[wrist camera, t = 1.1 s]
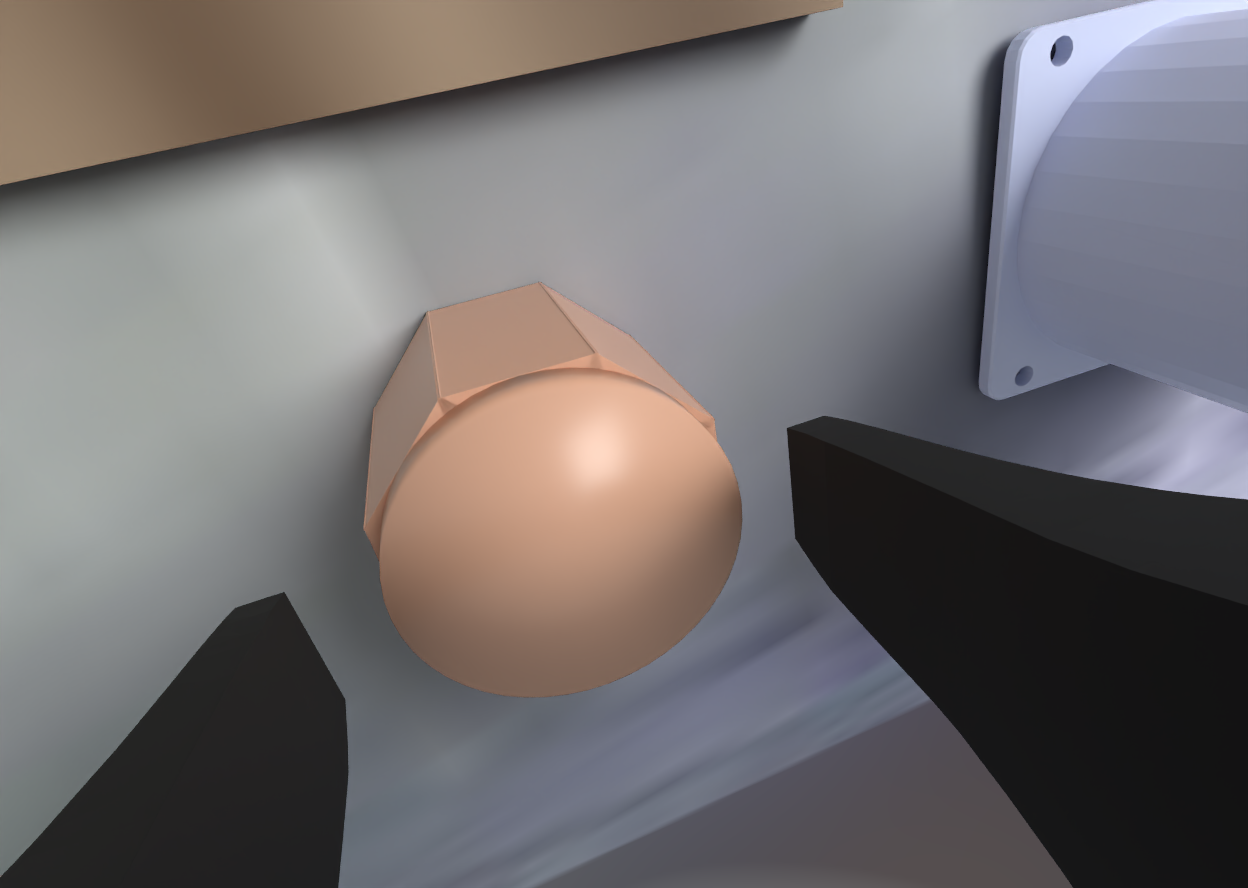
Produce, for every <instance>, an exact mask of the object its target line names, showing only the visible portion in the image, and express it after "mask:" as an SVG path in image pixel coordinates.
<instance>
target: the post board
mask: <svg viewBox="0 0 1248 888" xmlns="http://www.w3.org/2000/svg"><path fill="white" fill-rule="evenodd" d="M840 7H843V0H0V185H5V184H9V183H14V182H19V181H24V180H28V179H33V178H38V177H43V176H47V175H52V174H57V173H61V172H66V171H71V170H76V169H80V168H85V167H90V166H95V165H99V164H104V163H109V162H113V161H118V160H123V159H128V158H132V157H137V156H142V155H147V154H151V153H156V152H161V151H165V150H170V149H175V148H180V147H184V146H189V145H194V144H199V143H203V142H208V141H213V140H217V139H222V138H227V137H232V136H236V135H241V134H246V133H251V132H255V131H260V130H265V129H269V128H274V127H279V126H284V125H288V124H293V123H298V122H303V121H307V120H312V119H317V118H321V117H326V116H331V115H336V114H340V113H345V112H350V111H355V110H359V109H364V108H369V107H373V106H378V105H383V104H388V103H392V102H397V101H402V100H407V99H411V98H416V97H421V96H425V95H430V94H435V93H440V92H444V91H449V90H454V89H459V88H463V87H468V86H473V85H477V84H482V83H487V82H492V81H496V80H501V79H506V78H511V77H515V76H520V75H525V74H529V73H534V72H539V71H544V70H548V69H553V68H558V67H563V66H567V65H572V64H577V63H581V62H586V61H591V60H596V59H600V58H605V57H610V56H615V55H619V54H624V53H629V52H633V51H638V50H643V49H648V48H652V47H657V46H662V45H667V44H671V43H676V42H681V41H685V40H690V39H695V38H700V37H704V36H709V35H714V34H719V33H723V32H728V31H733V30H737V29H742V28H747V27H752V26H756V25H761V24H766V23H771V22H775V21H780V20H785V19H789V18H794V17H799V16H804V15H808V14H813V13H817V12H822V11H826V10H831V9H835V8H840Z"/></svg>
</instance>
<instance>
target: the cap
mask: <svg viewBox="0 0 1248 888" xmlns="http://www.w3.org/2000/svg"><path fill="white" fill-rule="evenodd" d="M714 421H715V419H714V418H713V417H712V416H711V415H710V414H709V413H708V412H707V411H706V410H705V409H704V408H703V407H702V406H701V405H700V404H699V403H698V402H697V401H696V400H695V399H694V398H693V397H692V396H691V395H690V394H689V393H688V392H687V391H686V390H685V389H684V388H683V387H682V386H681V385H680V384H679V383H678V382H677V381H676V380H675V379H674V378H673V377H672V376H671V375H670V374H669V373H668V372H667V371H666V370H665V369H664V368H663V367H662V366H661V365H660V364H659V363H658V362H657V361H656V360H655V359H654V358H653V357H652V356H651V355H650V354H649V353H648V352H647V351H646V350H645V349H644V348H643V347H642V346H641V345H640V344H639V343H638V342H637V341H636V340H635V339H634V338H633V337H632V336H631V335H628V334H626V333H625V332H623V331H621V330H619V329H618V328H616V327H614V326H613V325H611V324H609V323H608V322H606V321H604V320H603V319H601V318H599V317H598V316H596V315H594V314H593V313H591V312H589V311H588V310H586V309H584V308H582V307H581V306H579V305H577V304H576V303H574V302H572V301H571V300H569V299H567V298H566V297H564V296H562V295H561V294H559V293H557V292H556V291H554V290H552V289H551V288H549V287H547V286H545V285H544V284H542V282H538V283H535V284H531V285H527V286H524V287H520V288H516V289H512V290H509V291H505V292H501V293H497V294H493V295H490V296H486V297H482V298H478V299H475V300H471V301H467V302H463V303H459V304H456V305H452V306H448V307H444V308H441V309H437V310H433V311H427V312H426V315H425V317H424V319H423V321H422V322H421V324H420V326H419V328H418V330H417V331H416V333H415V335H414V337H413V339H412V341H411V342H410V344H409V346H408V348H407V350H406V351H405V353H404V355H403V357H402V359H401V361H400V362H399V364H398V366H397V368H396V370H395V371H394V373H393V375H392V377H391V379H390V381H389V382H388V384H387V386H386V388H385V390H384V391H383V393H382V395H381V397H380V399H379V401H378V402H377V404H376V406H375V407H374V409H373V421H372V433H371V445H370V457H369V468H368V480H367V492H366V504H365V516H364V529H363V530H364V531H365V532H366V534H367V536H368V538H369V540H370V543H371V545H372V547H373V549H374V551H375V553H376V556H377V558H378V560H379V562H380V583H381V588H382V593H383V598H384V602H385V605H386V607H387V610H388V613H389V615H390V618H391V620H392V622H393V624H394V625H395V627H396V629H397V631H398V632H399V634H400V636H401V637H402V639H403V640H404V641H405V642H406V643H407V645H408V646H409V647H410V648H411V649H412V651H413V652H414V653H415V654H416V655H418V656H419V657H420V658H421V659H422V660H423V661H424V662H425V663H427V664H428V665H429V666H430V667H432V668H433V669H435V670H437V671H438V672H440V673H441V674H443V675H444V676H446V677H448V678H450V679H452V680H454V681H456V682H458V683H461V684H463V685H465V686H468V687H471V688H474V689H477V690H480V691H484V692H488V693H493V694H498V695H503V696H514V697H551V696H559V695H567V694H572V693H577V692H581V691H586V690H590V689H593V688H596V687H599V686H602V685H605V684H609V683H611V682H613V681H616V680H618V679H620V678H623V677H625V676H627V675H630V674H632V673H633V672H635V671H637V670H639V669H641V668H643V667H644V666H646V665H648V664H650V663H651V662H653V661H654V660H656V659H657V658H659V657H660V656H662V655H663V654H665V653H666V652H667V651H668V650H670V649H671V648H672V647H673V646H675V645H676V644H677V643H678V642H680V641H681V640H682V639H683V638H684V637H685V636H686V635H687V634H688V633H689V632H690V631H691V630H692V629H693V628H694V627H695V626H696V625H697V624H698V623H699V621H700V620H701V619H702V618H703V617H704V615H705V614H706V613H707V612H708V611H709V609H710V608H711V606H712V605H713V603H714V602H715V600H716V599H717V597H718V596H719V594H720V593H721V591H722V589H723V587H724V585H725V583H726V581H727V579H728V577H729V575H730V572H731V570H732V567H733V564H734V562H735V559H736V555H737V551H738V547H739V543H740V538H741V528H742V504H741V497H740V492H739V487H738V482H737V480H736V477H735V474H734V471H733V469H732V466H731V464H730V462H729V460H728V459H727V457H726V455H725V453H724V451H723V450H722V448H721V447H720V445H719V444H718V443H717V438H716V430H715V423H714Z"/></svg>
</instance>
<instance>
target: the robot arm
mask: <svg viewBox="0 0 1248 888" xmlns="http://www.w3.org/2000/svg"><path fill="white" fill-rule="evenodd" d="M1055 42H1056V52H1055V56H1054V58H1053V60H1052V61H1051V58H1050V52H1051V49H1052V46H1053V44H1054V43H1055ZM1108 364H1113V365H1115V366H1118V367H1121V368H1124V369H1126V370H1129V371H1132V372H1135V373H1137V374H1140V375H1143V376H1146V377H1149V378H1151V379H1154V380H1157V381H1160V382H1162V383H1165V384H1168V385H1171V386H1173V387H1176V388H1179V389H1182V390H1184V391H1187V392H1190V393H1193V394H1196V395H1198V396H1201V397H1204V398H1207V399H1209V400H1212V401H1215V402H1218V403H1220V404H1223V405H1226V406H1229V407H1231V408H1234V409H1237V410H1240V411H1243V412H1245V413H1248V0H1150V1H1145V2H1141V3H1137V4H1132V5H1128V6H1123V7H1119V8H1115V9H1110V10H1106V11H1102V12H1097V13H1093V14H1089V15H1084V16H1080V17H1075V18H1071V19H1067V20H1062V21H1058V22H1054V23H1049V24H1045V25H1041V26H1036V27H1032V28H1028V29H1026V30H1024V31H1022V32H1020V33H1019V34H1018V35H1017V36H1016V37H1015V38H1014V39H1013V40H1012V42H1011V44H1010V46H1009V48H1008V50H1007V53H1006V57H1005V62H1004V73H1003V85H1002V98H1001V110H1000V123H999V135H998V148H997V160H996V173H995V185H994V198H993V210H992V223H991V235H990V248H989V261H988V273H987V286H986V298H985V311H984V323H983V336H982V348H981V361H980V373H979V389H980V391H981V392H982V393H983V394H984V395H986V396H988V397H990V398H993V399H995V400H1003V399H1006V398H1009V397H1012V396H1015V395H1018V394H1021V393H1024V392H1027V391H1030V390H1033V389H1036V388H1039V387H1042V386H1045V385H1048V384H1051V383H1054V382H1057V381H1060V380H1063V379H1066V378H1069V377H1072V376H1075V375H1078V374H1081V373H1084V372H1087V371H1090V370H1093V369H1096V368H1099V367H1102V366H1105V365H1108ZM1019 370H1020V371H1019ZM1018 372H1019V374H1018V375H1017V376H1016V374H1017V373H1018ZM787 435H788V448H789V461H790V475H791V488H792V501H793V514H794V527H795V539H796V540H797V542H798V543H799V545H800V546H801V548H802V549H803V551H804V552H805V554H806V555H807V557H808V558H809V560H810V561H811V563H812V564H813V566H814V567H815V568H816V570H817V571H818V573H819V574H820V575H821V577H822V578H823V580H824V581H825V582H826V584H827V585H828V587H829V588H830V589H831V591H832V592H833V593H834V594H835V595H836V596H837V597H838V599H839V600H840V601H841V602H842V603H843V604H844V605H845V606H846V608H847V609H848V610H849V611H850V612H851V613H852V614H853V615H854V616H855V617H856V619H857V620H858V621H859V622H860V623H861V624H862V625H863V626H864V627H865V628H866V630H867V631H868V632H869V633H870V634H871V635H872V636H873V637H874V638H875V639H876V640H877V641H878V643H879V644H880V645H881V646H882V647H883V648H884V649H885V650H886V651H887V652H888V653H889V654H890V656H891V657H892V658H893V659H894V660H895V661H896V662H897V663H898V664H899V665H900V666H901V667H902V669H903V670H904V671H905V672H906V673H907V674H908V675H909V676H910V677H911V678H912V679H913V680H914V682H915V683H916V684H917V685H918V686H919V687H920V688H921V689H922V690H923V691H924V692H925V693H926V695H927V696H928V697H929V698H930V699H931V700H932V701H933V702H934V703H935V704H936V705H937V707H938V708H939V709H940V710H941V711H942V712H943V714H944V715H945V716H946V717H947V718H948V719H949V721H950V722H951V723H952V724H953V725H954V727H955V728H956V729H957V730H958V731H959V732H960V734H961V735H962V736H963V738H964V739H965V740H966V742H967V743H968V744H969V745H970V747H971V748H972V749H973V751H974V752H975V753H976V755H977V756H978V757H979V759H980V760H981V761H982V763H983V764H984V765H985V767H986V768H987V769H988V771H989V772H990V773H991V774H992V776H993V777H994V778H995V780H996V781H997V782H998V784H999V785H1000V786H1001V788H1002V789H1003V790H1004V792H1005V793H1006V794H1007V796H1008V797H1009V798H1010V800H1011V801H1012V802H1013V804H1014V805H1015V807H1016V808H1017V809H1018V811H1019V812H1020V814H1021V815H1022V816H1023V818H1024V819H1025V820H1026V822H1027V823H1028V825H1029V826H1030V827H1031V829H1032V830H1033V831H1034V833H1035V834H1036V836H1037V837H1038V839H1039V840H1040V841H1041V843H1042V844H1043V846H1044V847H1045V848H1046V850H1047V851H1048V852H1049V854H1050V855H1051V857H1052V858H1053V859H1054V861H1055V862H1056V864H1057V865H1058V866H1059V868H1060V869H1061V871H1062V872H1063V873H1064V875H1065V876H1066V878H1067V879H1068V880H1069V882H1070V884H1071V885H1072V887H1073V888H1248V500H1246V499H1236V498H1226V497H1216V496H1205V495H1197V494H1189V493H1181V492H1173V491H1165V490H1158V489H1151V488H1145V487H1138V486H1132V485H1126V484H1119V483H1113V482H1106V481H1100V480H1094V479H1088V478H1083V477H1077V476H1072V475H1067V474H1062V473H1057V472H1052V471H1047V470H1043V469H1038V468H1034V467H1029V466H1025V465H1020V464H1015V463H1011V462H1006V461H1002V460H998V459H994V458H990V457H985V456H981V455H977V454H973V453H969V452H965V451H962V450H958V449H954V448H950V447H946V446H942V445H939V444H935V443H931V442H928V441H924V440H920V439H916V438H913V437H909V436H905V435H902V434H898V433H894V432H891V431H887V430H883V429H880V428H876V427H872V426H868V425H864V424H860V423H856V422H852V421H848V420H843V419H839V418H833V417H828V416H822V417H819V418H816V419H813V420H810V421H807V422H804V423H801V424H798V425H795V426H792V427H789V428H787ZM347 785H348V739H347V721H346V704H345V698H344V696H343V695H342V693H341V691H340V689H339V688H338V686H337V684H336V682H335V681H334V679H333V677H332V675H331V674H330V672H329V670H328V668H327V666H326V665H325V663H324V661H323V659H322V658H321V656H320V654H319V652H318V651H317V649H316V647H315V645H314V644H313V642H312V640H311V638H310V637H309V635H308V633H307V631H306V629H305V628H304V626H303V624H302V622H301V621H300V619H299V617H298V615H297V614H296V612H295V610H294V608H293V607H292V605H291V603H290V601H289V599H288V598H287V596H286V594H285V592H283V593H280V594H277V595H274V596H270V597H267V598H264V599H261V600H258V601H255V602H252V603H249V604H246V605H243V606H240V607H237V608H235V609H234V610H233V611H232V612H231V613H230V614H229V615H228V616H227V617H226V618H225V619H224V621H223V622H222V623H221V624H220V625H219V626H218V627H217V628H216V630H215V631H214V632H213V633H212V634H211V635H210V637H209V638H208V639H207V640H206V641H205V643H204V644H203V645H202V646H201V647H200V649H199V650H198V651H197V652H196V654H195V655H194V656H193V657H192V658H191V660H190V661H189V662H188V663H187V664H186V666H185V667H184V668H183V669H182V671H181V672H180V673H179V674H178V676H177V677H176V678H175V679H174V680H173V682H172V683H171V684H170V685H169V687H168V688H167V689H166V690H165V691H164V693H163V694H162V695H161V696H160V697H159V699H158V700H157V701H156V702H155V703H154V705H153V706H152V707H151V708H150V709H149V711H148V712H147V713H146V714H145V715H144V717H143V718H142V719H141V720H140V722H139V723H138V724H137V725H136V726H135V728H134V729H133V730H132V731H131V732H130V734H129V735H128V736H127V737H126V738H125V740H124V741H123V742H122V743H121V744H120V746H119V747H118V748H117V749H116V750H115V751H114V753H113V754H112V755H111V756H110V757H109V758H108V759H107V760H106V762H105V763H104V764H103V765H102V766H101V767H100V768H99V769H98V771H97V772H96V773H95V774H94V775H93V776H92V777H91V778H90V780H89V781H88V782H87V783H86V784H85V785H84V786H83V787H82V789H81V790H80V791H79V792H78V793H77V794H76V795H75V797H74V798H73V799H72V800H71V801H70V802H69V803H68V804H67V806H66V807H65V808H64V809H63V810H62V811H61V812H60V813H59V815H58V816H57V817H56V818H55V819H54V820H53V821H52V822H51V824H50V825H49V826H48V827H47V828H46V829H45V830H44V831H43V833H42V834H41V835H40V836H39V837H38V838H37V839H36V840H35V841H34V842H33V843H32V845H31V846H30V847H29V848H28V849H27V850H26V851H25V852H24V853H23V854H22V855H21V856H20V857H19V858H18V859H17V861H16V862H15V863H14V864H13V865H12V866H11V867H10V868H9V869H8V870H7V871H6V872H5V873H4V874H3V875H2V876H1V877H0V888H338V883H339V873H340V862H341V852H342V842H343V831H344V820H345V808H346V797H347Z"/></svg>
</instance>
